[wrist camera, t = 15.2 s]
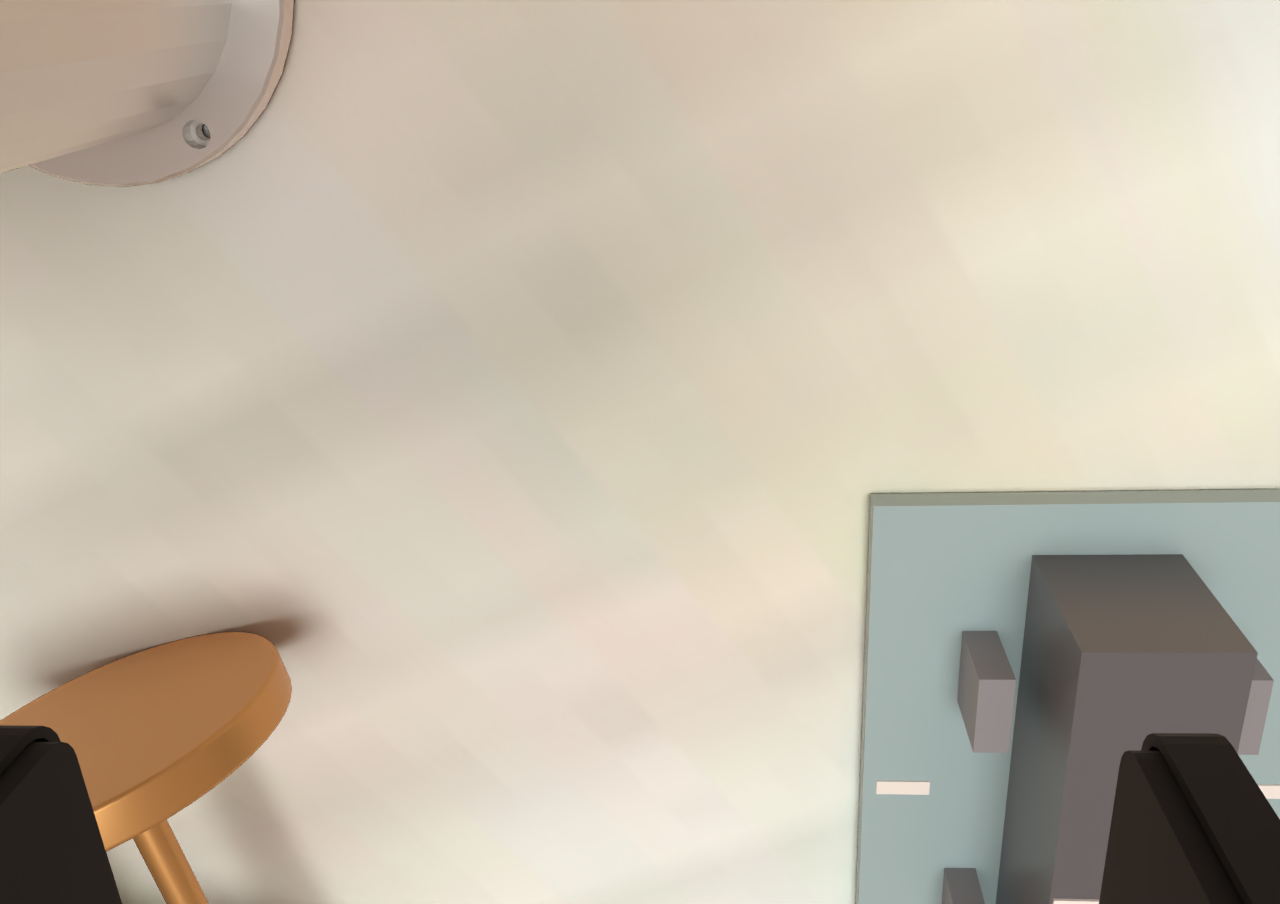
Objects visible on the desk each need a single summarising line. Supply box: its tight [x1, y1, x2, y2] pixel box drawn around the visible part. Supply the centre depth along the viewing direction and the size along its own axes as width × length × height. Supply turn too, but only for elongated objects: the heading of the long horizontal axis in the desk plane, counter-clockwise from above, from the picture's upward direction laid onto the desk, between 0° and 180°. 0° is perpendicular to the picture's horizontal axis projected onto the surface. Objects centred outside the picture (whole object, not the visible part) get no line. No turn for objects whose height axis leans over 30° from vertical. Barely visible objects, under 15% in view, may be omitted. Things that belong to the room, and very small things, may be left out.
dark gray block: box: [996, 554, 1258, 904], centre depth 40 cm, size 20×5×6 cm, turn 3°
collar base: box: [855, 489, 1280, 904], centre depth 42 cm, size 16×24×4 cm, turn 3°
